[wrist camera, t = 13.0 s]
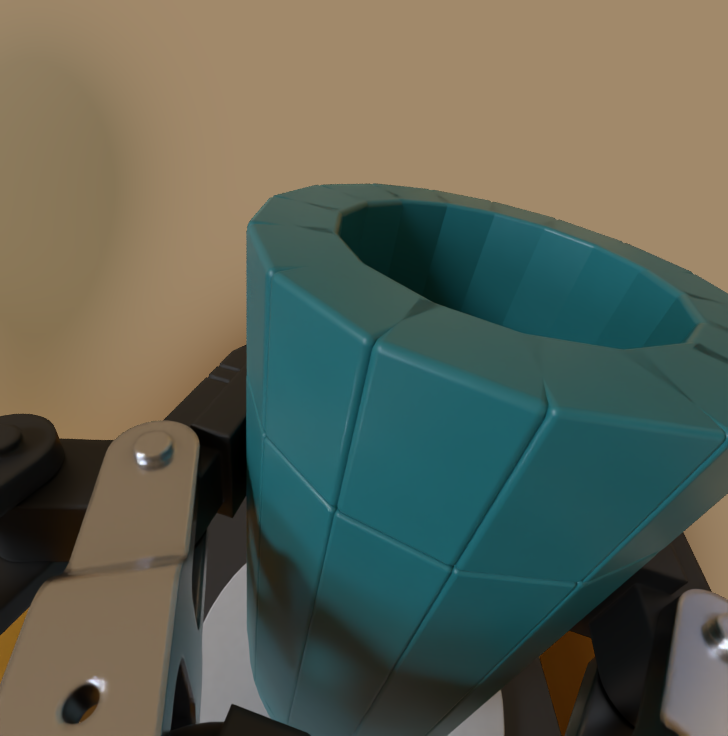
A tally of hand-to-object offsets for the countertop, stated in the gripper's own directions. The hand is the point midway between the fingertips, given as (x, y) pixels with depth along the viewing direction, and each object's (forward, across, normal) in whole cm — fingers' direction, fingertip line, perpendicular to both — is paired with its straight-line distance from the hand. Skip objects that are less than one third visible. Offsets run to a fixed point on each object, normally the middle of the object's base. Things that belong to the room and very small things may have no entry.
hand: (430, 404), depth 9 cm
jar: (-2, 0, -6) cm, 7 cm away
